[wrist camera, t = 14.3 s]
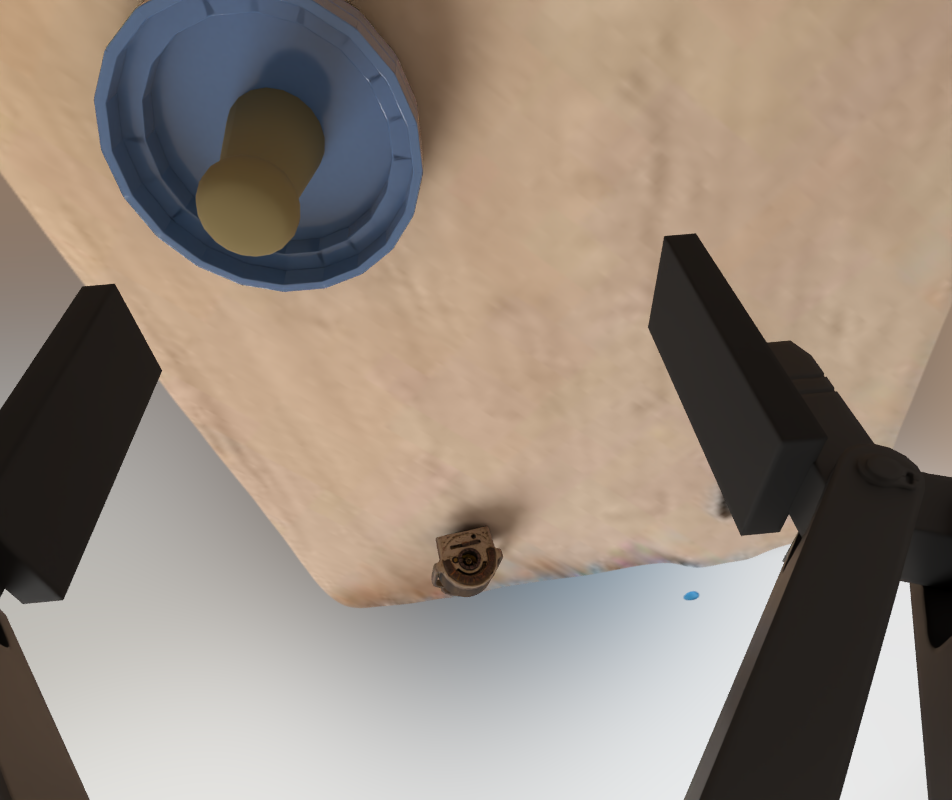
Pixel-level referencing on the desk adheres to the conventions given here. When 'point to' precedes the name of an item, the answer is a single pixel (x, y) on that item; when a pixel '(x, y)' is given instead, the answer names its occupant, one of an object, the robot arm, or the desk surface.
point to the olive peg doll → (260, 172)
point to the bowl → (206, 111)
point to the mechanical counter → (466, 562)
